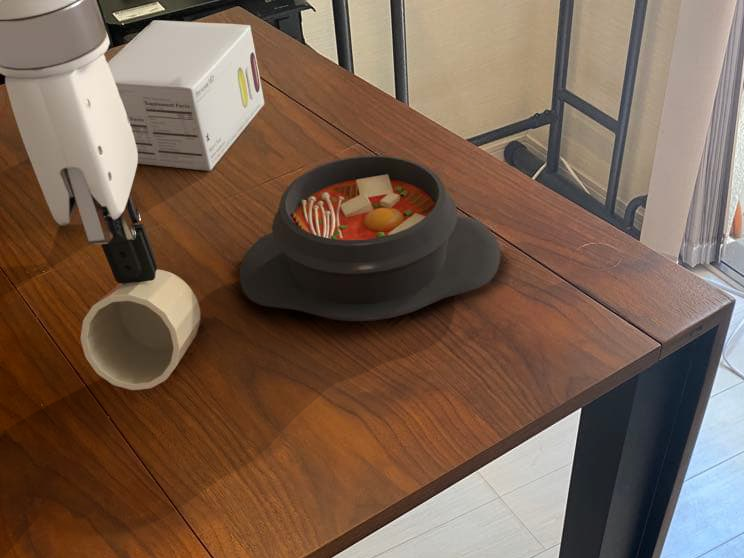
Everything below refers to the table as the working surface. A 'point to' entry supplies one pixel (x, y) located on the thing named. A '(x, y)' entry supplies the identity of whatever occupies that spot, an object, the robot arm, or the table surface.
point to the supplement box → (188, 90)
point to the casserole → (367, 243)
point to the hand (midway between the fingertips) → (137, 275)
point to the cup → (141, 331)
